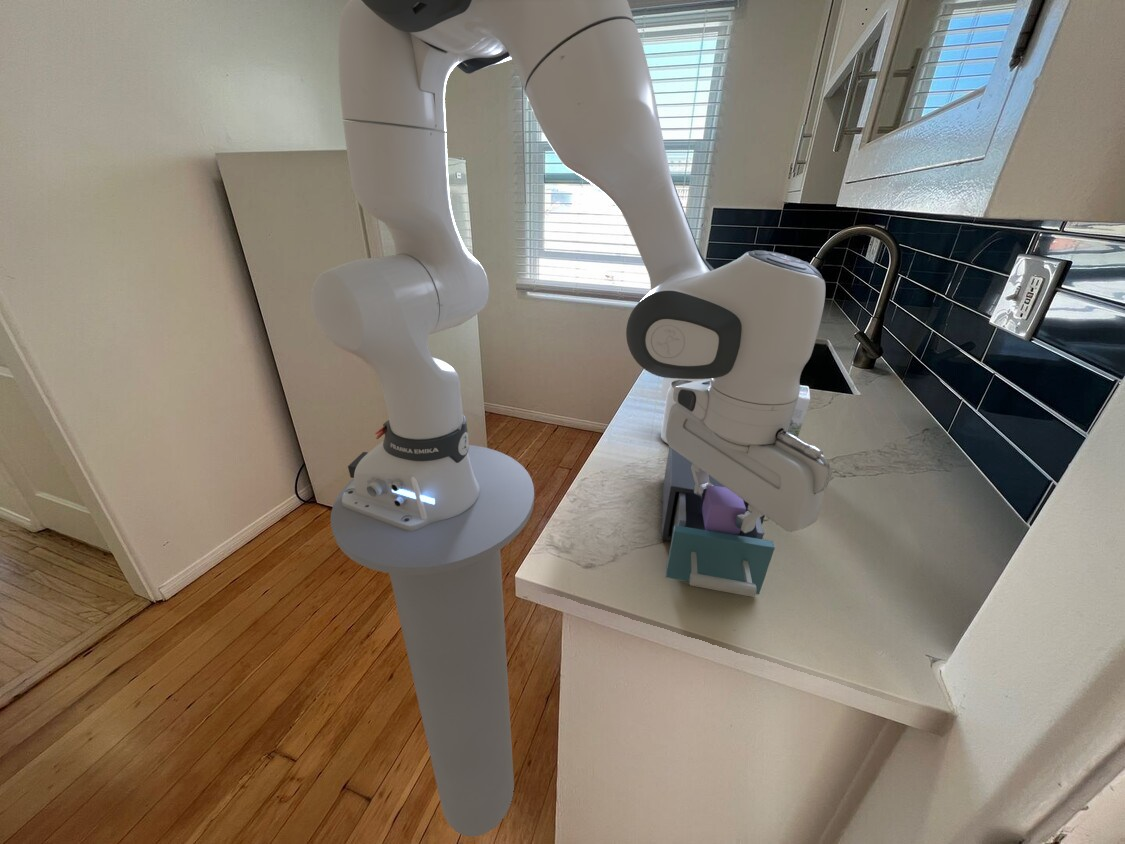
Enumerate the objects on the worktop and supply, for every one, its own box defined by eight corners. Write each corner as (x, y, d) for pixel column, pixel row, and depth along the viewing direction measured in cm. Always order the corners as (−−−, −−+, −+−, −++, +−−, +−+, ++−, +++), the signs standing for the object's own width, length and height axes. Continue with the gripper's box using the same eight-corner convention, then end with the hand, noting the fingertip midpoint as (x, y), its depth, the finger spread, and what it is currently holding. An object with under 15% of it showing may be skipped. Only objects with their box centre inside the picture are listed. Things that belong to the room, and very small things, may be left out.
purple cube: (705, 530, 54) (711, 504, 52) (701, 509, 58) (706, 484, 56) (739, 534, 54) (746, 508, 52) (733, 513, 57) (739, 488, 55)
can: (692, 450, 86) (703, 394, 81) (659, 444, 88) (667, 389, 82) (693, 434, 92) (703, 381, 86) (662, 429, 93) (669, 377, 88)
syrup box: (788, 453, 86) (809, 384, 79) (788, 468, 81) (811, 397, 75) (757, 446, 88) (775, 379, 81) (755, 460, 83) (774, 390, 77)
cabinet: (752, 555, 62) (769, 500, 57) (661, 539, 64) (670, 486, 60) (739, 493, 74) (752, 444, 70) (663, 482, 77) (671, 434, 72)
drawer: (766, 628, 50) (784, 580, 47) (665, 608, 53) (674, 560, 49) (744, 523, 66) (756, 481, 63) (667, 511, 68) (674, 469, 65)
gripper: (857, 450, 41) (814, 558, 48) (703, 374, 57) (686, 463, 64) (814, 466, 39) (774, 578, 45) (664, 382, 55) (651, 474, 61)
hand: (721, 510), depth 55 cm, fingers closed on purple cube, 5 cm apart
